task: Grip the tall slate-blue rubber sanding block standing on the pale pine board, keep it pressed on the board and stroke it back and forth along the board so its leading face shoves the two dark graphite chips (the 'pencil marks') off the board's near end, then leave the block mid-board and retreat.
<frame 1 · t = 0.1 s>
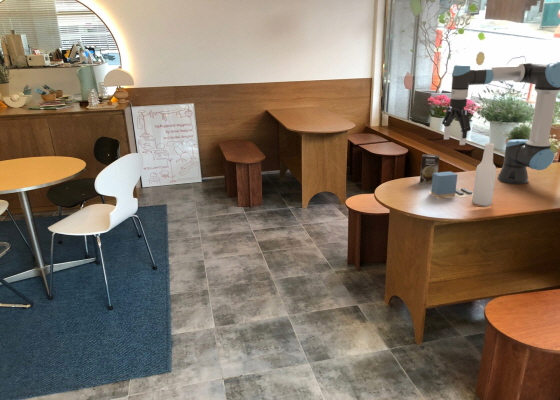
hand: (454, 141, 222), 28 cm above the table, fingers open, 13 cm apart
graphite chip b: (457, 192, 232), point 1 cm above the table, touching board
sanding block: (442, 194, 230), point 1 cm above the table, touching board
coffee box: (428, 183, 252), on the table
alcohol: (481, 204, 219), on the table
board: (452, 195, 232), on the table
graphite chip a: (466, 192, 233), point 1 cm above the table, touching board
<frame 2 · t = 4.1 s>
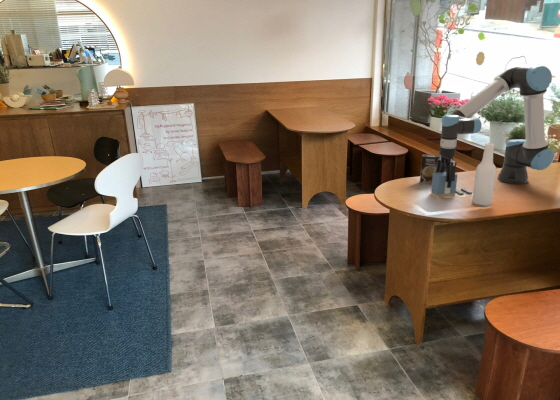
hand: (443, 191, 230), 3 cm above the table, fingers closed on sanding block, 6 cm apart
sanding block: (442, 194, 230), point 1 cm above the table, touching board, gripper
everything else where it was.
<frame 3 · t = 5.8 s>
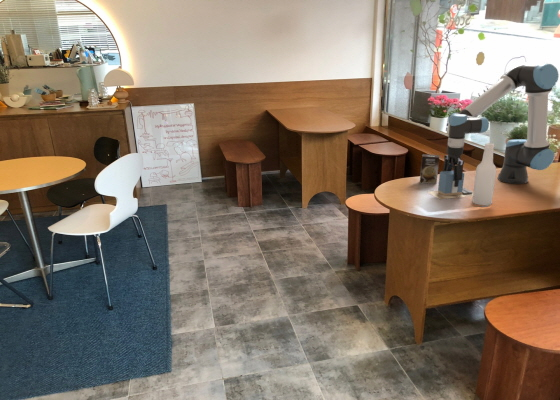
hand: (450, 190, 230), 3 cm above the table, fingers closed on sanding block, 6 cm apart
graphite chip b: (461, 192, 232), point 1 cm above the table, touching board
sanding block: (449, 193, 231), point 1 cm above the table, touching gripper
everything else where it was.
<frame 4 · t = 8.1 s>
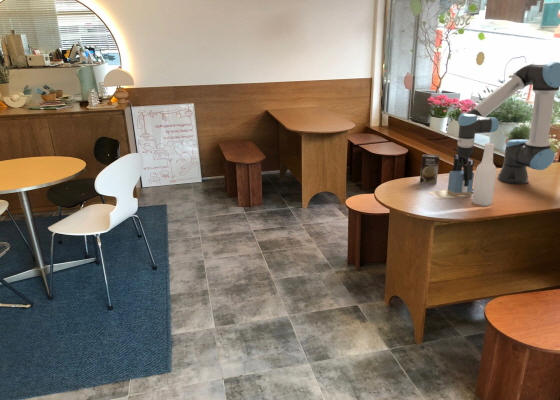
hand: (460, 189, 232), 3 cm above the table, fingers closed on sanding block, 6 cm apart
graphite chip b: (469, 191, 233), point 1 cm above the table
sanding block: (459, 192, 232), point 1 cm above the table, touching gripper
graphite chip a: (473, 191, 234), point 1 cm above the table, tilted 116°
everything else where it was.
when the fingers open (3 cm above the table, at t = 10.9 s): sanding block stays where it is, resting on board.
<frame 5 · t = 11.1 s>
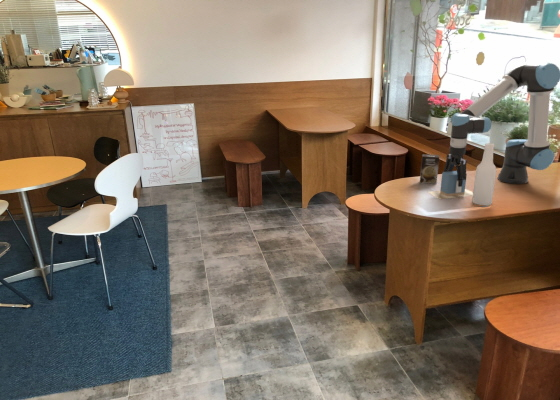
hand: (453, 189, 231), 3 cm above the table, fingers open, 8 cm apart
graphite chip b: (472, 194, 234), on the table
sanding block: (452, 193, 231), point 1 cm above the table, touching board
graphite chip a: (476, 192, 234), on the table, tilted 180°
everything else where it was.
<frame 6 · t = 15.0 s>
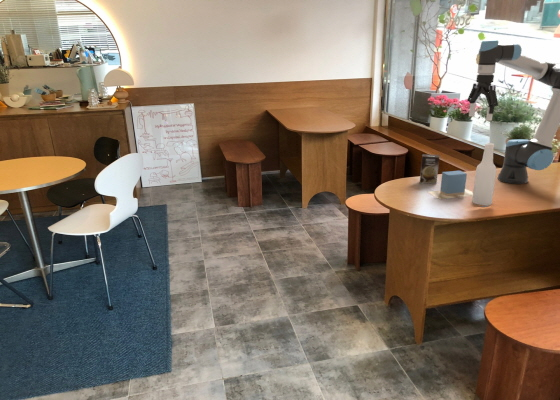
hand: (479, 118, 223), 39 cm above the table, fingers open, 13 cm apart
nothing on the table moved.
at the end: graphite chip a inside the target area (7.5 cm from its centre), point 0.5 cm above the table; graphite chip b inside the target area (9.5 cm from its centre), on the table; sanding block inside the target area (0.2 cm from its centre), point 1.2 cm above the table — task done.
